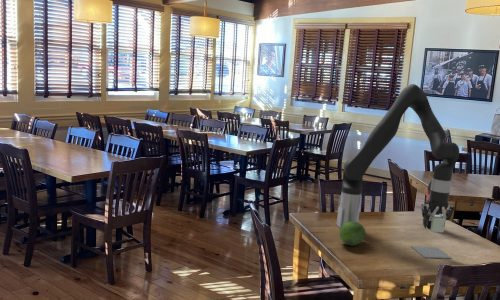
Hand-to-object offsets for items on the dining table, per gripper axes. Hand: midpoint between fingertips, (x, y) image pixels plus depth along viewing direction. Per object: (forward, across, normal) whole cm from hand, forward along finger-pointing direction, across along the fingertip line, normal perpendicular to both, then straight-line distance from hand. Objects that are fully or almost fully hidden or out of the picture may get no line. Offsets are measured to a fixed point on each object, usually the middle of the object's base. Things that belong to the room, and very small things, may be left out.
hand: (434, 228), depth 202 cm
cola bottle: (+11, +18, +35) cm, 41 cm away
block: (+1, 0, 0) cm, 1 cm away
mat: (+11, 0, 0) cm, 11 cm away
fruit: (+11, -32, +8) cm, 35 cm away
